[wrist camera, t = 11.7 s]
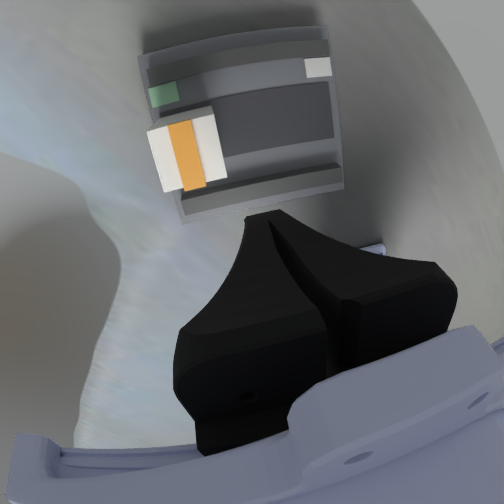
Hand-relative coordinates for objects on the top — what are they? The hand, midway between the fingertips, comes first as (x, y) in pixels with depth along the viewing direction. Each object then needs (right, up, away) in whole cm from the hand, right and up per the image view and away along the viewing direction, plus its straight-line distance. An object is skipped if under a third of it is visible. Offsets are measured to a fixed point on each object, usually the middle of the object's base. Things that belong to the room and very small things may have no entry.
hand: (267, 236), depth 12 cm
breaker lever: (-4, +6, +5) cm, 9 cm away
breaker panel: (-1, +8, +7) cm, 11 cm away
